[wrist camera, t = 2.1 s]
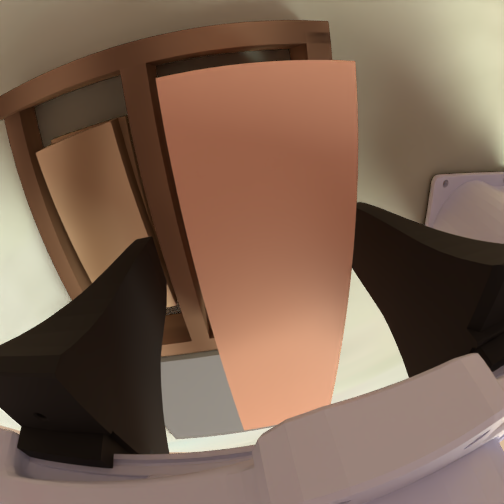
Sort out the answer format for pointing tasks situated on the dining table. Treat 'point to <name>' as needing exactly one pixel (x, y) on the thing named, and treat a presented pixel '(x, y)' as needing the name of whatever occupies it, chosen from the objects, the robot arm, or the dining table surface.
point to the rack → (144, 147)
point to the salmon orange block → (269, 220)
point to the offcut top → (98, 197)
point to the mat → (198, 396)
